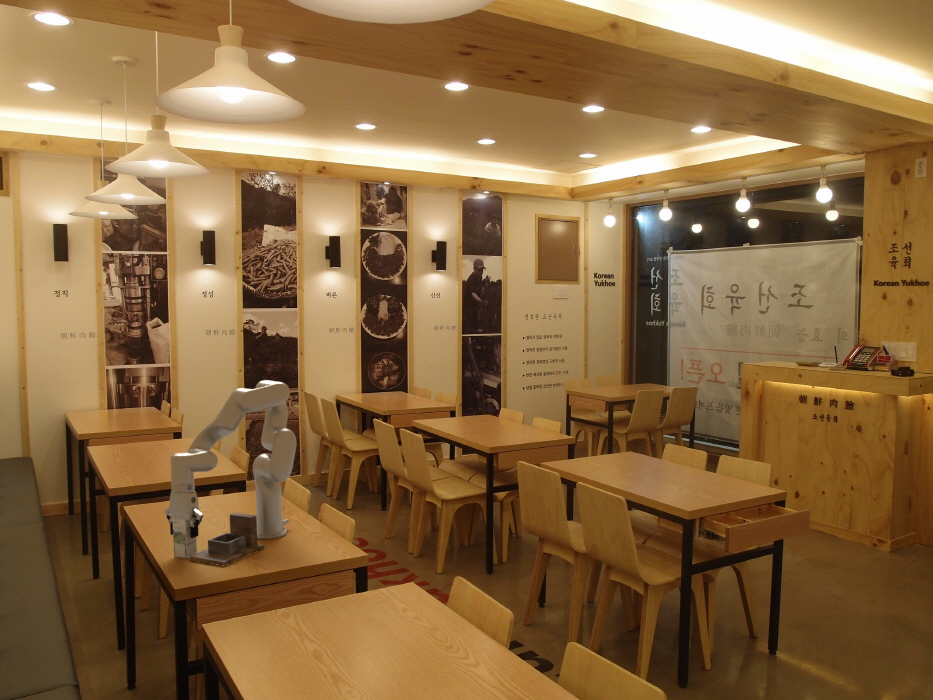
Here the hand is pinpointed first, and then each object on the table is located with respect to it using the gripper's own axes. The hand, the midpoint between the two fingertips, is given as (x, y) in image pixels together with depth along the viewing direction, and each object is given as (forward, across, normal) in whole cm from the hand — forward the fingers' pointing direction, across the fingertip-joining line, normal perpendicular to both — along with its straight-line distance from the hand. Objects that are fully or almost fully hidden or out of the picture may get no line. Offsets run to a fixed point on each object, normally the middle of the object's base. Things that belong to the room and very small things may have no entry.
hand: (184, 535), depth 261 cm
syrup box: (+8, 0, 0) cm, 8 cm away
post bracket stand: (+7, -13, -7) cm, 17 cm away
